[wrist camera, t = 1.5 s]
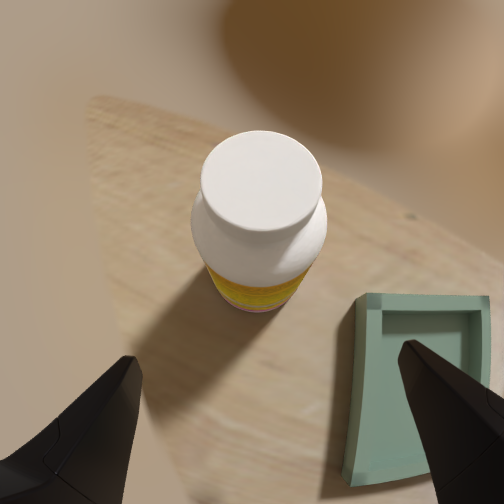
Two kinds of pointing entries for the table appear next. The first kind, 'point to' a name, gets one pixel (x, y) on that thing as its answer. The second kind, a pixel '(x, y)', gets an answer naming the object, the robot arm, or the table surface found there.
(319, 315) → the table surface
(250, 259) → the supplement bottle
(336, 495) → the table surface
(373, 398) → the tub
